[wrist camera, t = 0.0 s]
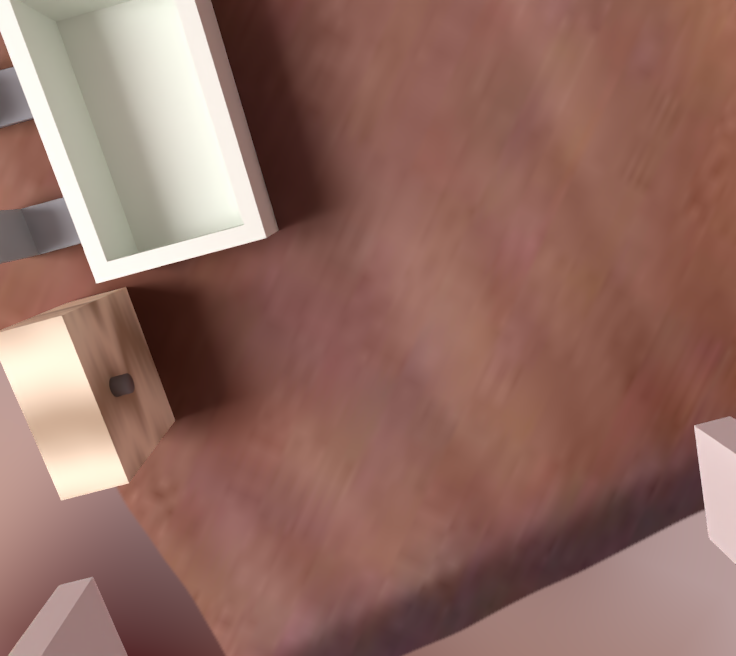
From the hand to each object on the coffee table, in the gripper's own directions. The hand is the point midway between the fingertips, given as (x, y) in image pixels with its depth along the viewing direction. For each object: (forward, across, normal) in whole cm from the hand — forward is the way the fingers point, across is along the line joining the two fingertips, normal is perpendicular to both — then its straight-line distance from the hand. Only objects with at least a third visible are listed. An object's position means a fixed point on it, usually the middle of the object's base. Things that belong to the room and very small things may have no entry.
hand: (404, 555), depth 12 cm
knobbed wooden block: (+28, -17, 0) cm, 33 cm away
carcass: (+28, -13, +14) cm, 34 cm away
